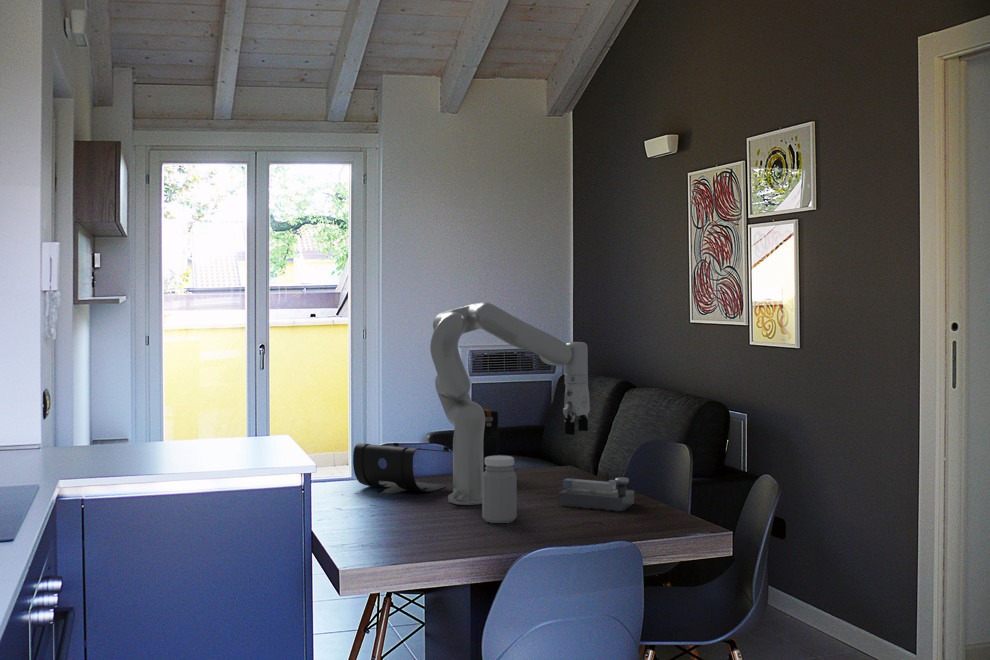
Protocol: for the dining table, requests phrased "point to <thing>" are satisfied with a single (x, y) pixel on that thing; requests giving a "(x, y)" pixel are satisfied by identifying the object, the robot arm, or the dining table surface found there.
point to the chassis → (597, 498)
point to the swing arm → (594, 484)
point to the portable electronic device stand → (389, 468)
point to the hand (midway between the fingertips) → (576, 432)
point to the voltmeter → (490, 435)
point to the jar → (499, 490)
